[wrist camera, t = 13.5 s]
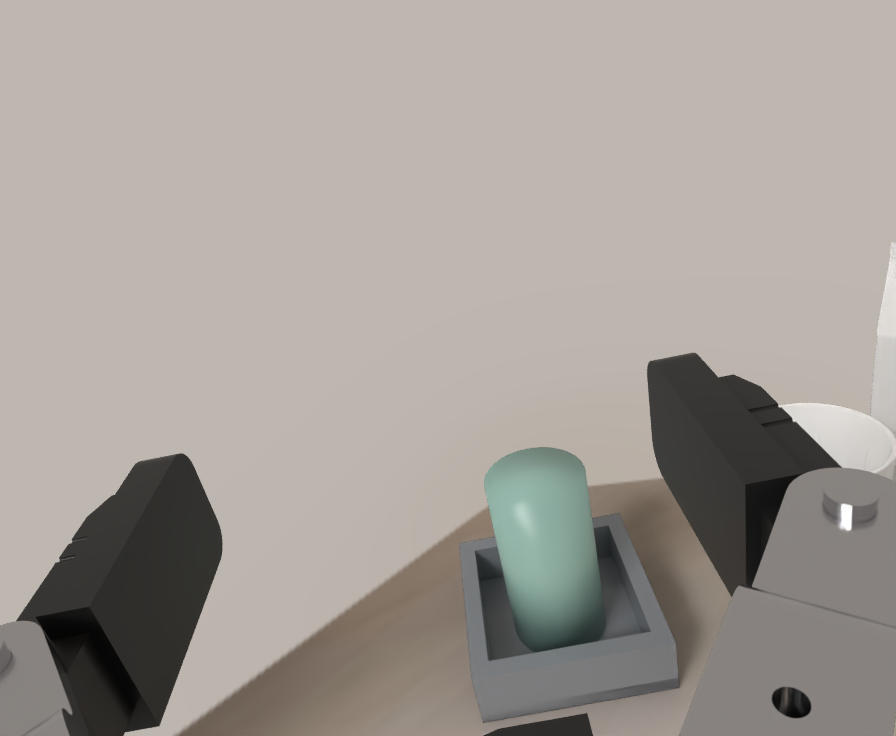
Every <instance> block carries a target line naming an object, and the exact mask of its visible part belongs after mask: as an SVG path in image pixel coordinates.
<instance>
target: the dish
mask: <svg viewBox="0 0 896 736" xmlns="http://www.w3.org/2000/svg"><path fill="white" fill-rule="evenodd" d="M592 523H593V530H594V537H595V544H596V552H597V559H598V566H599V574H600V581H601V588H602V595H603V603H604V610H605V618H606V623H605V629H604V631H603V634H602V636H601V637H600V639H599V640H598V641H597V642H591V643H586V644H580V645H575V646H569V647H564V648H558V649H553V650H547V651H542V652H533V651H532V650H530V649H529V648H527V647H526V646H525V645H524V644H523V643H522V642H521V640H520V639H519V637H518V635H517V633H516V629H515V625H514V620H513V615H512V611H511V606H510V602H509V597H508V593H507V588H506V583H505V579H504V574H503V570H502V565H501V561H500V556H499V551H498V547H497V542H496V538H495V537H490V538H485V539H480V540H475V541H469V542H464V543H459V546H460V557H461V568H462V579H463V590H464V601H465V612H466V624H467V635H468V646H469V657H470V668H471V679H472V683H473V687H474V691H475V694H476V698H477V702H478V705H479V709H480V713H481V717H482V720H483V723H484V722H490V721H495V720H501V719H506V718H512V717H518V716H523V715H529V714H535V713H540V712H546V711H551V710H557V709H563V708H568V707H574V706H580V705H585V704H591V703H596V702H602V701H608V700H613V699H619V698H625V697H630V696H636V695H641V694H647V693H653V692H658V691H664V690H670V689H675V688H679V678H678V665H677V652H676V642H675V640H674V638H673V635H672V633H671V631H670V629H669V626H668V624H667V622H666V619H665V617H664V615H663V612H662V610H661V608H660V606H659V603H658V601H657V599H656V596H655V594H654V592H653V589H652V587H651V585H650V583H649V580H648V578H647V576H646V573H645V571H644V569H643V567H642V564H641V562H640V560H639V557H638V555H637V553H636V550H635V548H634V546H633V544H632V541H631V539H630V537H629V534H628V532H627V530H626V528H625V525H624V523H623V521H622V518H621V516H620V514H619V513H616V514H611V515H606V516H601V517H595V518H592Z"/></svg>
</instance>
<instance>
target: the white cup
mask: <svg viewBox="0 0 896 736" xmlns="http://www.w3.org/2000/svg"><path fill="white" fill-rule="evenodd" d="M778 406H779V407H782V408H783V409H784V410H785V411H786V412H787V413H788V414H789V415H790V416H791V417H792V420H793V422H797V423H798V424H799V425H800V426H801V427H802V428H803V429H804V430H805V431H806V432H807V433H808V434H809V435H810V436H811V437H812V438H813V439H814V440H815V441H816V442H817V443H818V444H819V445H820V446H821V447H822V448H823V449H824V450H825V451H826V452H827V453H828V454H829V455H830V456H831V457H832V458H833V459H834V460H835V461H836V462H837V463H838V464H839V465H840V466H841V467H842V468H852V469H859V470H864V471H868V472H872V473H875V474H878V475H881V476H884V477H886V478H888V479H890V480H893V474H894V469H895V463H896V438H895V436H894V434H893V433H892V432H891V431H890V430H889V429H888V428H887V427H886V426H885V425H884V424H883V423H881V422H880V421H878V420H877V419H875V418H873V417H871V416H869V415H867V414H865V413H862V412H860V411H857V410H854V409H850V408H847V407H843V406H838V405H832V404H825V403H790V404H784V405H778Z"/></svg>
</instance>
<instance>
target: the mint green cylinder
mask: <svg viewBox="0 0 896 736" xmlns="http://www.w3.org/2000/svg"><path fill="white" fill-rule="evenodd" d="M484 487H485V492H486V496H487V501H488V506H489V510H490V515H491V519H492V524H493V529H494V533H495V538H496V542H497V547H498V551H499V556H500V561H501V565H502V570H503V574H504V579H505V583H506V588H507V593H508V597H509V602H510V606H511V611H512V615H513V620H514V625H515V629H516V633H517V635H518V637H519V639H520V640H521V642H522V643H523V644H524V645H525V646H526V647H527V648H529V649H530V650H532V651H533V652H542V651H547V650H553V649H558V648H564V647H569V646H575V645H580V644H586V643H591V642H597V641H598V640H599V639H600V637H601V636H602V634H603V631H604V629H605V623H606V618H605V610H604V603H603V595H602V588H601V581H600V574H599V566H598V559H597V552H596V544H595V537H594V530H593V523H592V515H591V508H590V501H589V493H588V486H587V480H586V471H585V467H584V465H583V463H582V462H581V461H580V459H578V458H577V457H576V456H575V455H573V454H571V453H569V452H567V451H564V450H560V449H555V448H547V447H540V448H530V449H525V450H520V451H517V452H514V453H511V454H509V455H507V456H505V457H503V458H502V459H500V460H499V461H497V462H496V463H495V464H494V465H493V466H492V467H491V468H490V469H489V470H488V472H487V474H486V476H485V480H484Z"/></svg>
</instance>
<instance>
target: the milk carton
mask: <svg viewBox="0 0 896 736" xmlns="http://www.w3.org/2000/svg"><path fill="white" fill-rule="evenodd" d="M890 252H891V253H890V262H889V267H888V273H887V278H886V284H885V289H884V295H883V301H882V306H881V312H880V317H879V322H878V328H877V336H876V349H875V361H874V373H873V385H872V397H871V409H870V416H871V417H873V418H875V419H877V420H878V421H880V422H881V423H883V424H884V425H885V426H886V427H887V428H888V429H889V430H890V431H891V432H892V433H893V434H894V436H895V438H896V242H892V243H891V251H890ZM892 481H894V482H896V463H895V469H894V474H893V480H892Z"/></svg>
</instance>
